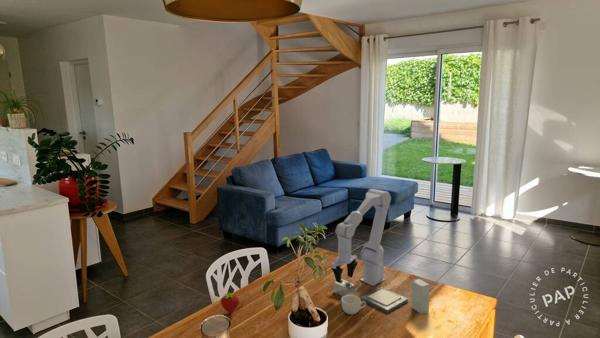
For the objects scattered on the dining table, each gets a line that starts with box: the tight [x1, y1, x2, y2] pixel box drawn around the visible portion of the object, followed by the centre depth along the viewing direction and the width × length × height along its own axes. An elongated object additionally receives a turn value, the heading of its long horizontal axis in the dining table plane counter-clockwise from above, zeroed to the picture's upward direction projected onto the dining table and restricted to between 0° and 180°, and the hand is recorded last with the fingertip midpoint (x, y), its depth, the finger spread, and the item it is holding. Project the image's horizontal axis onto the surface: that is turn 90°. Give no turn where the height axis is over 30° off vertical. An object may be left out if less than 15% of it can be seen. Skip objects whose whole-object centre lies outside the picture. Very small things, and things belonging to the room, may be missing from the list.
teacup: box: [341, 295, 367, 315], centre depth 158 cm, size 10×8×5 cm
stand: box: [360, 286, 409, 314], centre depth 166 cm, size 14×14×2 cm
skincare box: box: [411, 278, 430, 315], centre depth 158 cm, size 6×4×12 cm
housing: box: [333, 278, 356, 297], centre depth 173 cm, size 5×8×6 cm, turn 40°
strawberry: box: [220, 292, 240, 314], centre depth 157 cm, size 6×8×10 cm
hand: (344, 279), depth 172 cm, fingers open, 7 cm apart
